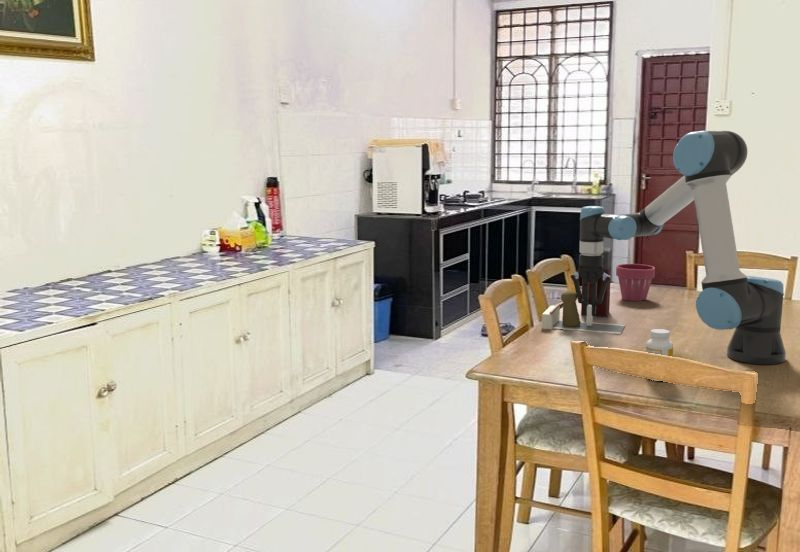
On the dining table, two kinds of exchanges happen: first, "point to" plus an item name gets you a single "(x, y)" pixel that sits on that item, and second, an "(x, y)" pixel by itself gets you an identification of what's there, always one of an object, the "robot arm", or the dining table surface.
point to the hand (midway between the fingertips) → (589, 324)
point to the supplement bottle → (660, 343)
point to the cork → (570, 309)
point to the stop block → (550, 317)
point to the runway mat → (592, 327)
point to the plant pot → (635, 280)
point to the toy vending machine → (603, 308)
